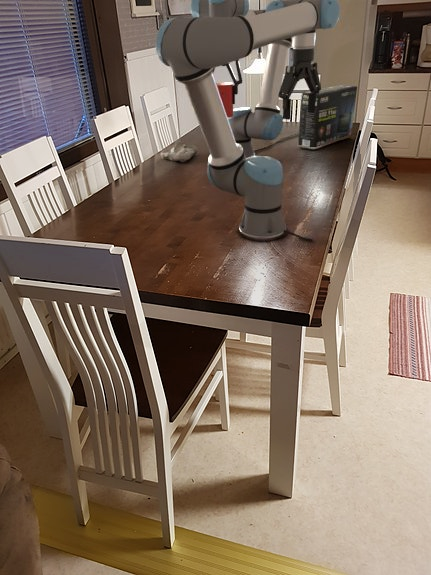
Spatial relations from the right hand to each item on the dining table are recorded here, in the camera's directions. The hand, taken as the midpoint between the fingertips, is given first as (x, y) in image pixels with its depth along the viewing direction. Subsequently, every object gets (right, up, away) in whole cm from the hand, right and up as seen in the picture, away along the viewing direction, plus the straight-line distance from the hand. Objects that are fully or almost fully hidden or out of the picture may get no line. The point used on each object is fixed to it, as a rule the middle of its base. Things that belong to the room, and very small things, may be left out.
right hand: (299, 115), depth 161 cm
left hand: (-27, +11, +17) cm, 34 cm away
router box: (+29, +17, +83) cm, 90 cm away
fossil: (-48, +4, +68) cm, 84 cm away
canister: (-27, +7, +19) cm, 34 cm away
